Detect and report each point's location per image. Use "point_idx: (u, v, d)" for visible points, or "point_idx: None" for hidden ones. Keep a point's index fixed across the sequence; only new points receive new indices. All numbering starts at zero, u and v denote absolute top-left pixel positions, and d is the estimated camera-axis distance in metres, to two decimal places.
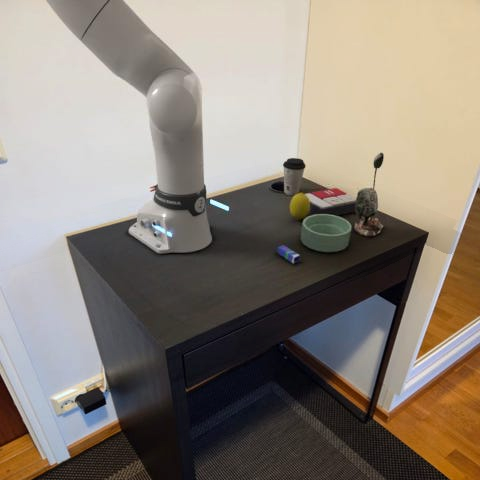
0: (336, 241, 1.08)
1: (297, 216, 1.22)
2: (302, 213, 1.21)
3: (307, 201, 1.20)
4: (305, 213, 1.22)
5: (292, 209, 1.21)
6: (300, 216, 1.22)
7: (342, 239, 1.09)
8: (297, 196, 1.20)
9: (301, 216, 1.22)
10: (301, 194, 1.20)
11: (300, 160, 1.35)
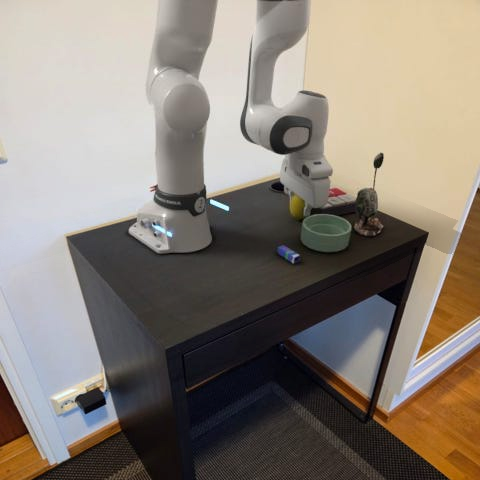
0: (336, 241, 1.08)
1: (297, 216, 1.22)
2: None
3: None
4: None
5: (292, 209, 1.21)
6: (300, 216, 1.22)
7: (342, 239, 1.09)
8: (297, 196, 1.20)
9: (301, 216, 1.22)
10: None
11: None
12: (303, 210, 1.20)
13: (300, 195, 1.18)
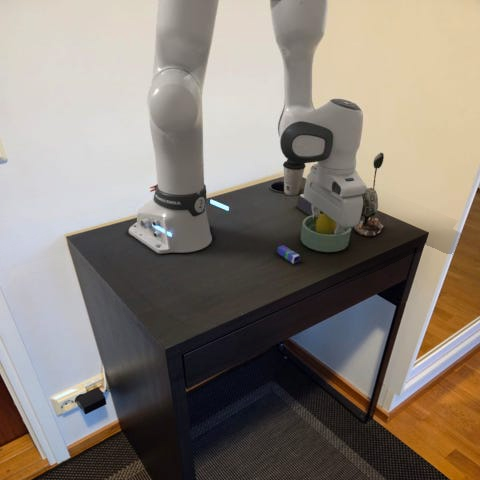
0: (336, 241, 1.08)
1: None
2: (330, 233, 1.11)
3: None
4: None
5: (319, 229, 1.11)
6: None
7: (342, 239, 1.09)
8: (325, 215, 1.10)
9: None
10: None
11: None
12: (333, 232, 1.08)
13: (327, 213, 1.07)
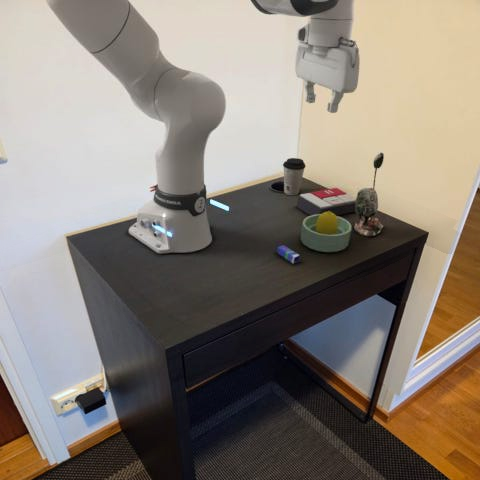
0: (336, 241, 1.08)
1: None
2: (330, 233, 1.11)
3: (335, 220, 1.10)
4: (333, 233, 1.11)
5: (319, 229, 1.11)
6: None
7: (342, 239, 1.09)
8: (325, 215, 1.10)
9: None
10: (329, 213, 1.10)
11: (300, 160, 1.35)
12: None
13: None
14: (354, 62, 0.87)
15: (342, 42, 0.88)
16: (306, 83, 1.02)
